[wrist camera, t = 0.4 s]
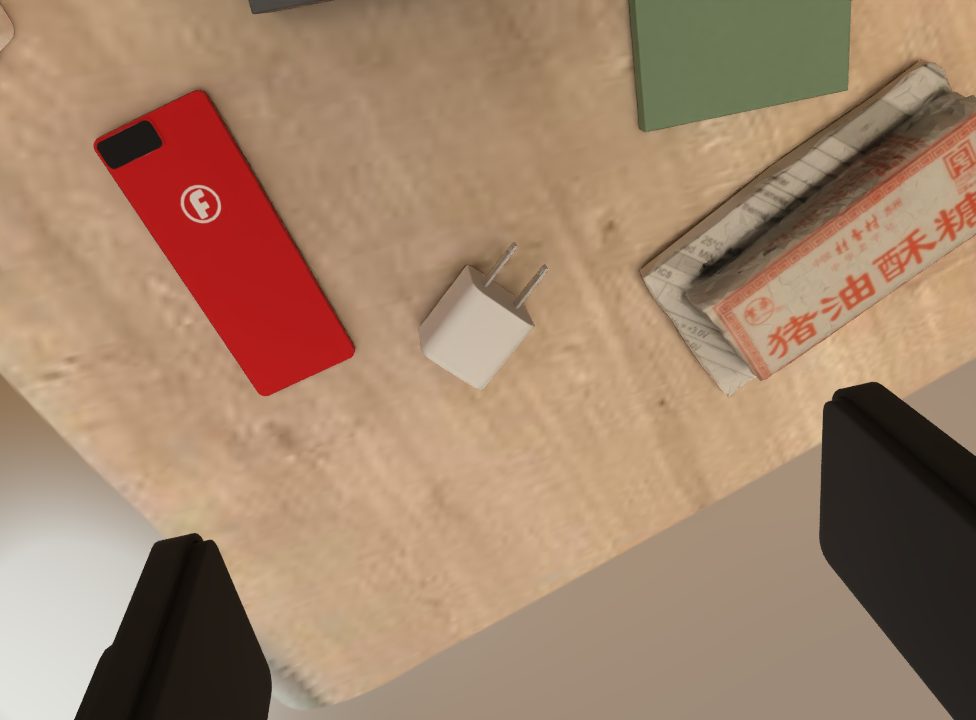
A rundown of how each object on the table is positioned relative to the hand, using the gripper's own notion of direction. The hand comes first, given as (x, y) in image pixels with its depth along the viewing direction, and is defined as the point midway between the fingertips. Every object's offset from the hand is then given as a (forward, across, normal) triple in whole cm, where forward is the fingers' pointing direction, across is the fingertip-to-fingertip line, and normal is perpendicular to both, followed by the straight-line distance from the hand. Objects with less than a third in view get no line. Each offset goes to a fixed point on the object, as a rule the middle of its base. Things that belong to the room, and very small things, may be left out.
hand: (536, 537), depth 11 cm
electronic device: (+29, +10, +2) cm, 31 cm away
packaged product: (+30, -20, +8) cm, 37 cm away
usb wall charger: (+30, -2, +8) cm, 30 cm away
